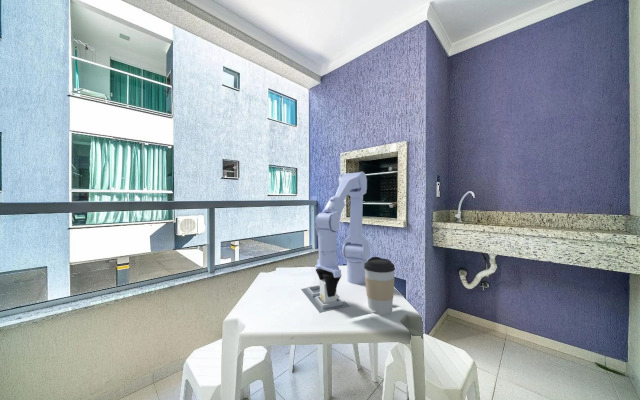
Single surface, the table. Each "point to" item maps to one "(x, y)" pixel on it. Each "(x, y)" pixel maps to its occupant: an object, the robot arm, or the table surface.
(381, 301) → the coffee cup
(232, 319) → the table surface
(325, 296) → the plug
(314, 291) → the panel
